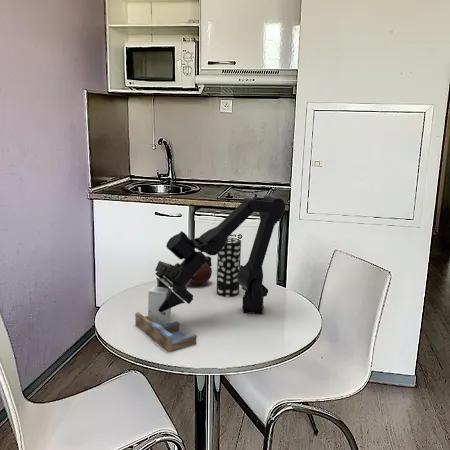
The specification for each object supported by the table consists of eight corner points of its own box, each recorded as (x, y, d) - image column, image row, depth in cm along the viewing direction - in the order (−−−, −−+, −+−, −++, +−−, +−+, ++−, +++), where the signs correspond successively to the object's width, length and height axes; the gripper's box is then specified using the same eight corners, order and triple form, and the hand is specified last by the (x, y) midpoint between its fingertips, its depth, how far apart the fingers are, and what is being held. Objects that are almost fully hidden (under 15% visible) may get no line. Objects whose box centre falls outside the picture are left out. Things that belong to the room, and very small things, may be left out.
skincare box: (147, 327, 150) (146, 290, 147) (153, 322, 154) (153, 285, 151) (165, 331, 148) (165, 293, 146) (171, 325, 152) (171, 288, 150)
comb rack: (134, 324, 152) (134, 310, 151) (161, 318, 157) (161, 304, 156) (168, 352, 136) (168, 336, 135) (196, 343, 141) (197, 328, 140)
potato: (215, 286, 188) (216, 262, 186) (186, 290, 183) (187, 266, 181) (206, 278, 196) (206, 256, 193) (178, 282, 190) (178, 259, 188)
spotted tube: (239, 297, 177) (241, 244, 173) (216, 296, 177) (217, 243, 173) (238, 289, 185) (240, 238, 181) (216, 288, 186) (218, 237, 181)
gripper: (161, 244, 156) (127, 282, 153) (183, 261, 140) (146, 303, 137) (184, 265, 161) (152, 301, 159) (208, 283, 145) (173, 324, 143)
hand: (155, 307), depth 149 cm, fingers closed on skincare box, 7 cm apart
